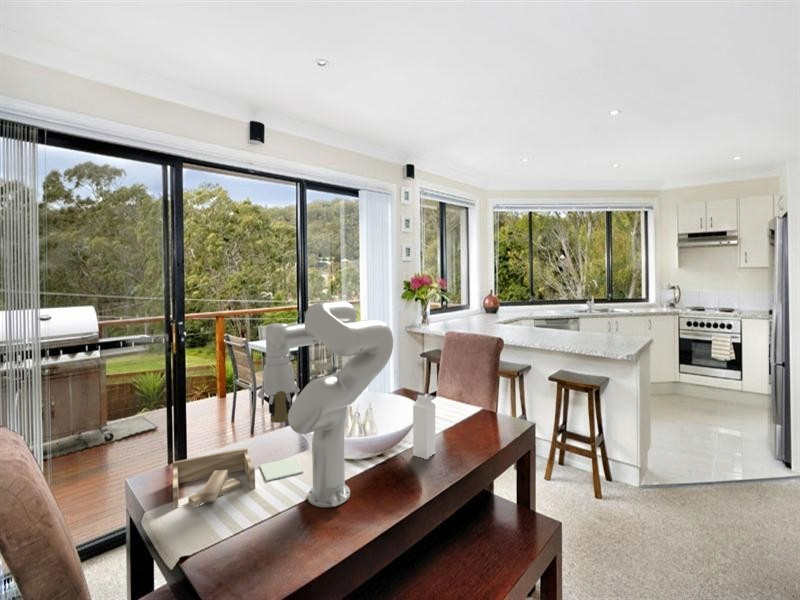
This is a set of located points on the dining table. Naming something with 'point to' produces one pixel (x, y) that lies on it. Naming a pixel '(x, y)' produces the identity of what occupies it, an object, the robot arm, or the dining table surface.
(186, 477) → the rack
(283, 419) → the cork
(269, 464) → the tile
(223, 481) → the offcut top
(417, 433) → the milk
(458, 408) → the dining table surface
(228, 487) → the offcut low
